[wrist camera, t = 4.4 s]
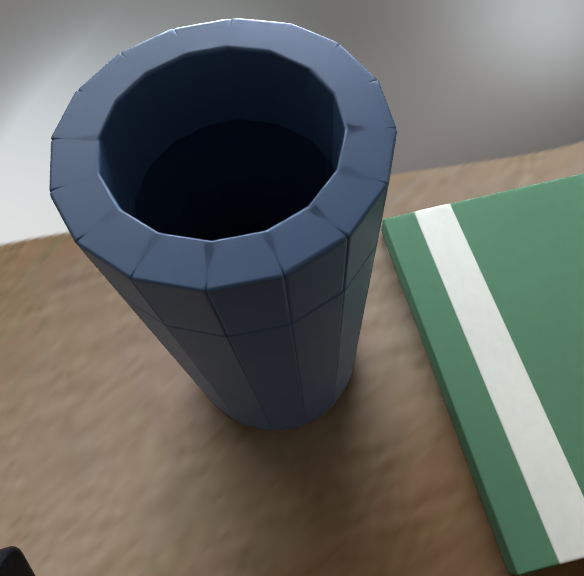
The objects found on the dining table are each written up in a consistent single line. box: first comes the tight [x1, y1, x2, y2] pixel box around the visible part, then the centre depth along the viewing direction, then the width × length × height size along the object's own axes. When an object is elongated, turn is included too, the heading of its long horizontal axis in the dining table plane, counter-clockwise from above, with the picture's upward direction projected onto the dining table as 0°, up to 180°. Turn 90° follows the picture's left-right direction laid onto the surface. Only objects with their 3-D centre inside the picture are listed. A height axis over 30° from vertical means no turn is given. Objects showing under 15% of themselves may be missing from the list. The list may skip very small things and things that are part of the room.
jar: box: [50, 18, 397, 430], centre depth 16 cm, size 7×7×14 cm
